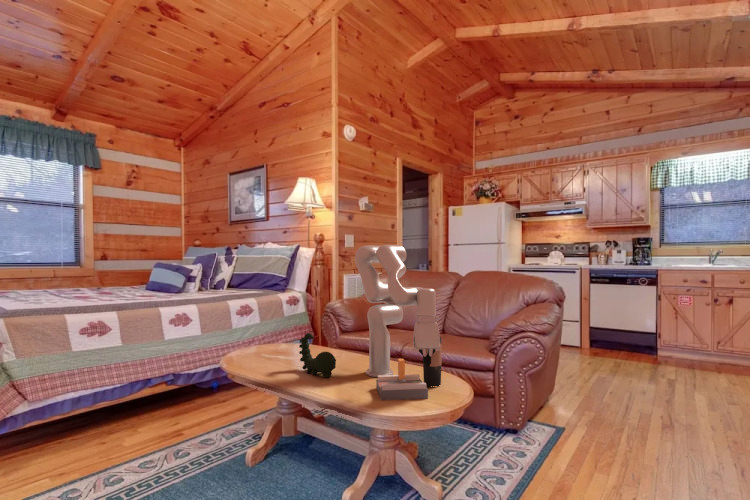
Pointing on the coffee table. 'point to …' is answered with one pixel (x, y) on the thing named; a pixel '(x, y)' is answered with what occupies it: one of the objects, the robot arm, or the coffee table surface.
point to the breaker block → (401, 387)
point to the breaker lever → (401, 371)
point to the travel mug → (433, 369)
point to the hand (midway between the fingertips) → (427, 365)
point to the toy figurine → (316, 359)
